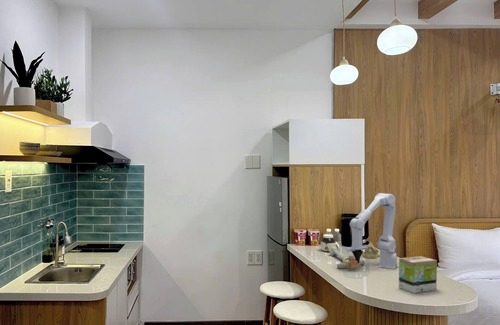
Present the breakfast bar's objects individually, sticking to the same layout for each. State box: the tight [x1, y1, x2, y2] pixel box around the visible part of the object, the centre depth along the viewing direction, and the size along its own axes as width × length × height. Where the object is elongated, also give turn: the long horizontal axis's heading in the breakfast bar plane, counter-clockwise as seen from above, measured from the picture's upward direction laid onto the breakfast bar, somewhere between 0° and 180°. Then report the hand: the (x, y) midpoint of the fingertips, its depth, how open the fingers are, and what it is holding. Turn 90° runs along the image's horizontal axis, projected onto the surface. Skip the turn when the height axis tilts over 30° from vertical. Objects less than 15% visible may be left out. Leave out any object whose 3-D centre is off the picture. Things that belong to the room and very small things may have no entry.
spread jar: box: [320, 233, 341, 254], centre depth 265 cm, size 12×11×12 cm
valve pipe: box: [336, 259, 366, 270], centre depth 222 cm, size 20×6×4 cm, turn 120°
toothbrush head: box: [329, 247, 349, 261], centre depth 242 cm, size 5×7×25 cm
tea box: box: [398, 255, 438, 294], centre depth 182 cm, size 15×10×15 cm
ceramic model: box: [361, 241, 380, 259], centre depth 250 cm, size 14×11×10 cm
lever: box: [348, 255, 358, 265], centre depth 218 cm, size 12×3×2 cm, turn 178°
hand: (357, 262), depth 215 cm, fingers closed, pressing on lever
